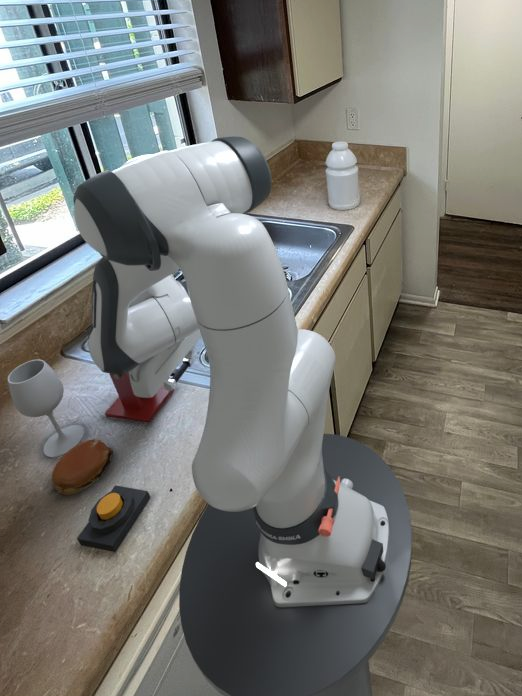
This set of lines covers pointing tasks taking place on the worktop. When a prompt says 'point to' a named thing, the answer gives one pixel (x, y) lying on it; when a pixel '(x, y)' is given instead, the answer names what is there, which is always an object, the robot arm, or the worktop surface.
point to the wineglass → (42, 402)
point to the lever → (179, 372)
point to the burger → (81, 466)
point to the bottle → (342, 177)
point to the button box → (114, 520)
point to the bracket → (134, 401)
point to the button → (109, 506)
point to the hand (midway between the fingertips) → (180, 375)
